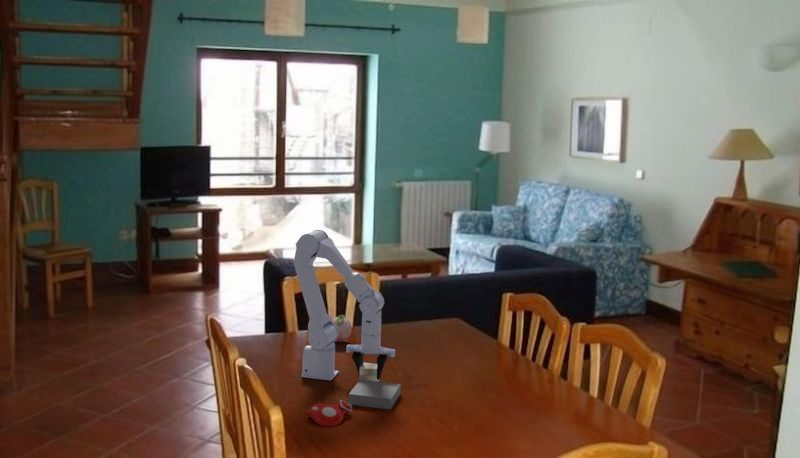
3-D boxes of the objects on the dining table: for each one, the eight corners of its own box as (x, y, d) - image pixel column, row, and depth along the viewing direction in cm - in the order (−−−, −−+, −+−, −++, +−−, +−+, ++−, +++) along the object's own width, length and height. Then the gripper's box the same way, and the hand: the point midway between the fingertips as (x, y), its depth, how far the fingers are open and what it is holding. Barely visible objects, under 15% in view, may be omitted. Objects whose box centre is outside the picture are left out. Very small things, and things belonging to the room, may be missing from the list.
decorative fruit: (327, 338, 281) (327, 310, 279) (350, 338, 282) (351, 310, 280) (327, 346, 272) (328, 317, 270) (351, 346, 273) (352, 317, 271)
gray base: (348, 404, 221) (348, 393, 220) (360, 389, 232) (360, 379, 232) (390, 409, 218) (391, 398, 218) (400, 394, 230) (400, 384, 229)
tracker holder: (337, 426, 203) (302, 411, 206) (334, 439, 205) (300, 424, 208) (357, 400, 214) (323, 386, 216) (354, 413, 216) (321, 399, 218)
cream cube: (359, 383, 237) (359, 367, 236) (363, 378, 242) (364, 362, 241) (375, 385, 236) (376, 369, 235) (379, 380, 241) (380, 364, 240)
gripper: (343, 334, 234) (342, 379, 236) (391, 339, 231) (390, 384, 233) (350, 328, 241) (349, 371, 243) (397, 333, 238) (395, 376, 240)
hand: (369, 377), depth 239 cm, fingers closed on cream cube, 5 cm apart
